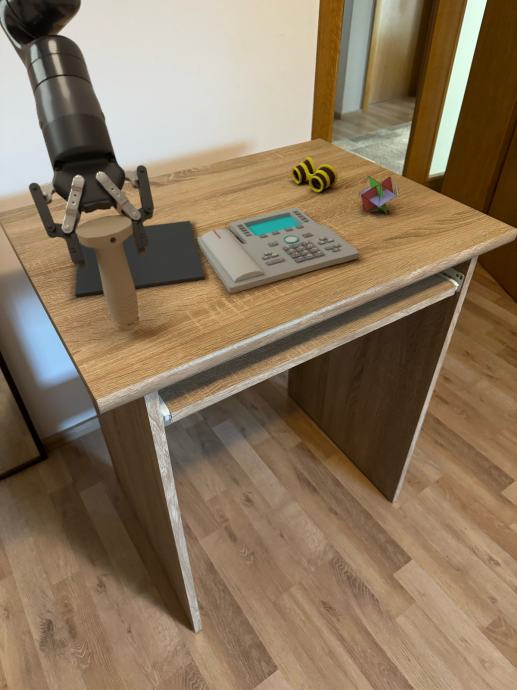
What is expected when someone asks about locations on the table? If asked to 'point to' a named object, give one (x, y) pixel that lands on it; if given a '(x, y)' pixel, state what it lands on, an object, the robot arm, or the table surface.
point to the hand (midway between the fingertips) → (112, 259)
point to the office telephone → (272, 249)
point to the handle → (113, 266)
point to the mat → (149, 260)
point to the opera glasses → (314, 175)
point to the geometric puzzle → (378, 194)
